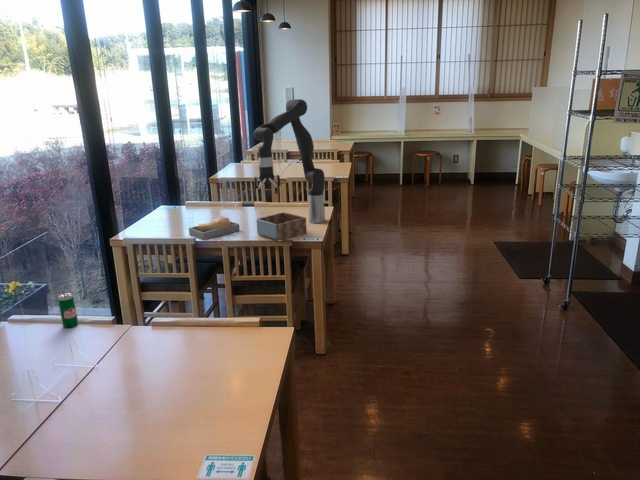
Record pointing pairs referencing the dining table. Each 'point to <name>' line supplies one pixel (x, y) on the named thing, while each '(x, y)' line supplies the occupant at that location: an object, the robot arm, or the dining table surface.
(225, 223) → the squash
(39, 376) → the dining table surface
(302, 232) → the box
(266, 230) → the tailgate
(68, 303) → the soda can
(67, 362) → the dining table surface
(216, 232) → the squash crate
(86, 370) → the dining table surface
